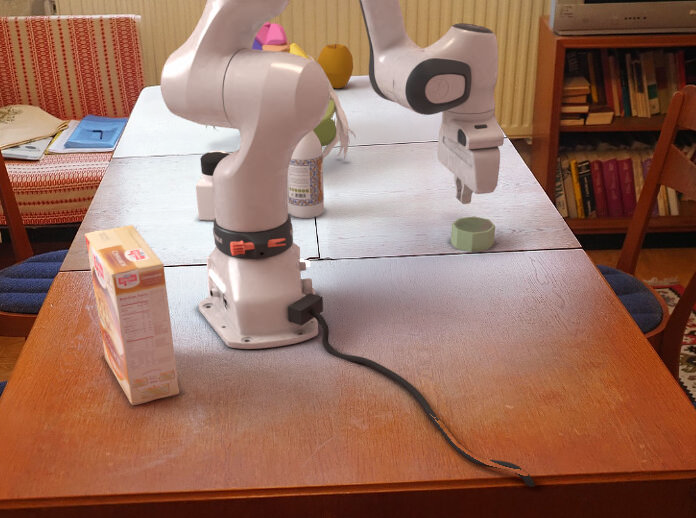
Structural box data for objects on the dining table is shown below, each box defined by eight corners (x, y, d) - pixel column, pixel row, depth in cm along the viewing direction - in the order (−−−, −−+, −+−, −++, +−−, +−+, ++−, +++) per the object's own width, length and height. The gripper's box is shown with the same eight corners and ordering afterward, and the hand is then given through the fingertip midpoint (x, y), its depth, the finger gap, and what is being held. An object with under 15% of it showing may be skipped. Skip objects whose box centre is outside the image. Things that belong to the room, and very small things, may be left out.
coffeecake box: (103, 357, 142) (82, 232, 131) (150, 347, 144) (134, 223, 134) (130, 407, 130) (110, 273, 119) (181, 394, 132) (165, 262, 122)
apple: (315, 92, 262) (314, 47, 256) (320, 83, 270) (319, 39, 264) (351, 92, 260) (350, 47, 254) (355, 83, 268) (355, 39, 262)
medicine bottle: (234, 222, 185) (229, 160, 178) (198, 220, 186) (192, 159, 180) (243, 208, 191) (239, 148, 184) (208, 207, 192) (203, 147, 186)
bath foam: (325, 218, 185) (322, 112, 174) (288, 219, 184) (284, 114, 174) (322, 205, 190) (320, 102, 180) (287, 206, 190) (283, 104, 180)
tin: (483, 233, 175) (498, 249, 170) (446, 237, 174) (460, 254, 169) (485, 214, 173) (500, 230, 168) (447, 219, 172) (461, 235, 167)
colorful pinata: (336, 98, 189) (249, -16, 202) (231, 200, 199) (154, 85, 211) (399, 149, 217) (319, 45, 230) (304, 236, 227) (232, 132, 239)
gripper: (430, 109, 174) (427, 184, 181) (471, 142, 157) (467, 223, 164) (463, 106, 175) (459, 180, 182) (508, 138, 158) (502, 219, 165)
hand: (463, 201), depth 173 cm, fingers closed
